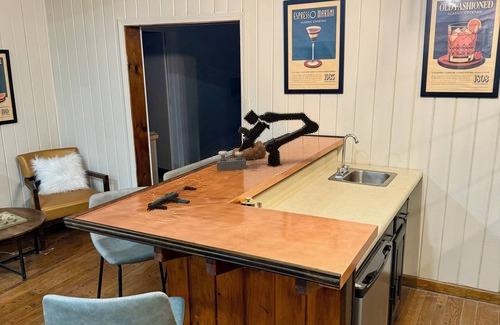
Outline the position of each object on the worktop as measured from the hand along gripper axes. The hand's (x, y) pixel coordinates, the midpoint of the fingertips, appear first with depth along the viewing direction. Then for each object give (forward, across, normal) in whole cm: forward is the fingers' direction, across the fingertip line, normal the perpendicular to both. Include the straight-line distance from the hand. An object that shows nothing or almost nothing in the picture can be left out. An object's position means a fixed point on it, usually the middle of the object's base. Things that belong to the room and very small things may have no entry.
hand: (238, 151), depth 230 cm
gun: (+28, +49, -14) cm, 58 cm away
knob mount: (+10, 0, +3) cm, 10 cm away
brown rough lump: (+2, -22, +12) cm, 25 cm away
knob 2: (+5, 0, +5) cm, 7 cm away
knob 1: (+10, 0, -2) cm, 11 cm away
